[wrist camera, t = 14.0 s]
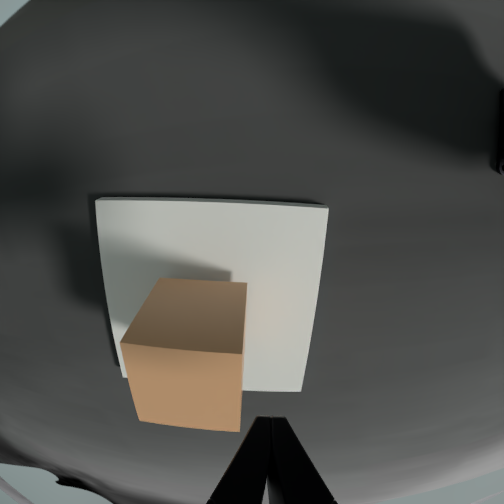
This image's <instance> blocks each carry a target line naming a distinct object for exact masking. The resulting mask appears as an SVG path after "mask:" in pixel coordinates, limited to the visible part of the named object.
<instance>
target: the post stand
mask: <svg viewBox="0 0 504 504" xmlns="http://www.w3.org/2000/svg"><path fill="white" fill-rule="evenodd" d="M95 205H96V218H97V230H98V240H99V249H100V257H101V265H102V272H103V279H104V286H105V292H106V299H107V304H108V310H109V316H110V321H111V326H112V331H113V336H114V341H115V345H116V350H117V354H118V359H119V363H120V367H121V371H122V375H123V377H126V378H128V377H127V373H126V369H125V365H124V360H123V356H122V351H121V347H120V341H121V339H122V338H123V336H124V334H125V332H126V331H127V329H128V328H129V326H130V324H131V323H132V321H133V319H134V318H135V316H136V314H137V313H138V311H139V309H140V308H141V306H142V305H143V303H144V301H145V300H146V298H147V297H148V295H149V293H150V292H151V290H152V289H153V287H154V286H155V284H156V282H157V281H158V279H159V278H174V279H190V280H207V281H226V282H245V283H247V305H246V329H245V354H244V370H243V386H242V390H250V391H283V392H301V388H302V383H303V378H304V372H305V367H306V362H307V356H308V351H309V345H310V339H311V334H312V328H313V322H314V315H315V309H316V303H317V296H318V289H319V282H320V275H321V268H322V261H323V253H324V245H325V237H326V228H327V220H328V210H329V208H328V207H327V206H326V205H320V204H306V203H290V202H274V201H255V200H233V199H206V198H165V197H101V198H99V199H97V200H95Z"/></svg>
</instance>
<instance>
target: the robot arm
mask: <svg viewBox="0 0 504 504" xmlns="http://www.w3.org/2000/svg"><path fill="white" fill-rule="evenodd" d="M502 166H503V169H502ZM496 169H497V172H498V173H499V174H502V175H504V89H501V91H500V125H499V142H498V154H497V164H496ZM266 479H267V486H268V495H269V504H338V503H337V502H336V501H334V497H333V496H332V494H331V493H330V491H329V489H328V488H327V486H326V485H325V483H324V481H323V480H322V478H321V476H320V475H319V473H318V471H317V470H316V468H315V467H314V465H313V463H312V462H311V460H310V458H309V457H308V455H307V453H306V451H305V450H304V448H303V446H302V445H301V443H300V441H299V440H298V438H297V436H296V435H295V433H294V431H293V429H292V428H291V426H290V424H289V422H288V421H287V419H286V418H285V417H284V416H272V417H270V416H265V415H258V416H256V418H255V419H254V421H253V423H252V425H251V427H250V429H249V431H248V432H247V434H246V436H245V438H244V440H243V442H242V443H241V445H240V447H239V449H238V451H237V452H236V454H235V456H234V458H233V459H232V461H231V463H230V465H229V466H228V468H227V470H226V472H225V473H224V475H223V477H222V478H221V480H220V482H219V483H218V485H217V487H216V488H215V490H214V492H213V493H212V495H211V497H210V499H209V500H208V501H207V503H206V504H262V500H263V495H264V490H265V485H266Z"/></svg>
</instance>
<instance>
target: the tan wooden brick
mask: <svg viewBox="0 0 504 504" xmlns="http://www.w3.org/2000/svg"><path fill="white" fill-rule="evenodd" d="M246 305H247V283H245V282H226V281H207V280H190V279H174V278H159V279H158V281H157V282H156V284H155V286H154V287H153V289H152V290H151V292H150V293H149V295H148V297H147V298H146V300H145V301H144V303H143V305H142V306H141V308H140V309H139V311H138V313H137V314H136V316H135V318H134V319H133V321H132V323H131V324H130V326H129V328H128V329H127V331H126V332H125V334H124V336H123V338H122V339H121V341H120V347H121V351H122V356H123V360H124V365H125V369H126V373H127V377H128V381H129V385H130V389H131V393H132V396H133V400H134V404H135V407H136V411H137V414H138V418H139V420H140V421H146V422H152V423H158V424H165V425H172V426H179V427H188V428H197V429H207V430H218V431H232V432H240V419H241V402H242V386H243V370H244V354H245V329H246Z"/></svg>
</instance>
